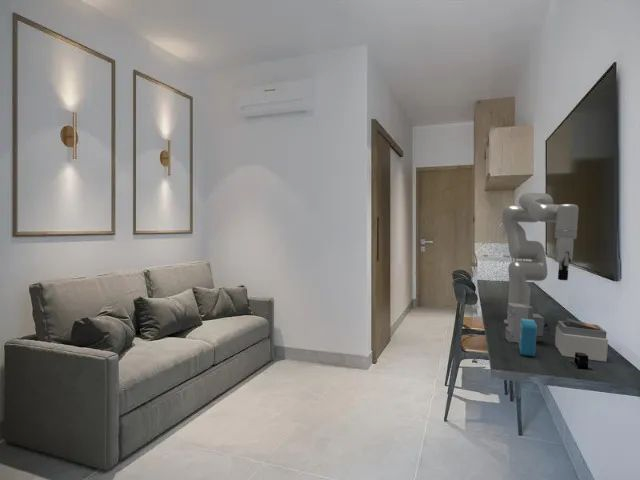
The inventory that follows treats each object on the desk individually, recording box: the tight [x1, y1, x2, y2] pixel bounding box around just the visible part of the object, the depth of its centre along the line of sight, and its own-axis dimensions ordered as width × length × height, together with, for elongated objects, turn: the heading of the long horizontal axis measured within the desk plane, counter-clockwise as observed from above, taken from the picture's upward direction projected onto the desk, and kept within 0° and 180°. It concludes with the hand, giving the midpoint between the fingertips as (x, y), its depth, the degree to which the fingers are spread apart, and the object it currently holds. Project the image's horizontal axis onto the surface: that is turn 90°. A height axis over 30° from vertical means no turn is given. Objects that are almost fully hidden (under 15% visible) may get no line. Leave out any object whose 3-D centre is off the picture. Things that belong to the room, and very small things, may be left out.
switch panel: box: [554, 320, 609, 362], centre depth 161 cm, size 16×14×10 cm
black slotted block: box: [567, 352, 596, 372], centre depth 146 cm, size 12×7×5 cm, turn 166°
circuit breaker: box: [504, 303, 548, 344], centre depth 174 cm, size 8×14×15 cm, turn 78°
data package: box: [518, 318, 537, 358], centre depth 158 cm, size 12×4×12 cm, turn 158°
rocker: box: [564, 317, 599, 330], centre depth 161 cm, size 7×10×2 cm
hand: (562, 279), depth 169 cm, fingers closed
